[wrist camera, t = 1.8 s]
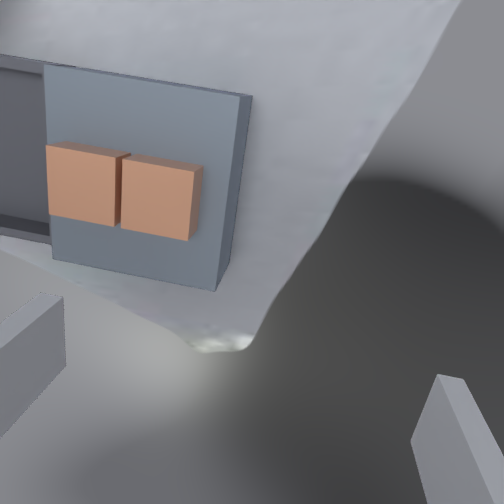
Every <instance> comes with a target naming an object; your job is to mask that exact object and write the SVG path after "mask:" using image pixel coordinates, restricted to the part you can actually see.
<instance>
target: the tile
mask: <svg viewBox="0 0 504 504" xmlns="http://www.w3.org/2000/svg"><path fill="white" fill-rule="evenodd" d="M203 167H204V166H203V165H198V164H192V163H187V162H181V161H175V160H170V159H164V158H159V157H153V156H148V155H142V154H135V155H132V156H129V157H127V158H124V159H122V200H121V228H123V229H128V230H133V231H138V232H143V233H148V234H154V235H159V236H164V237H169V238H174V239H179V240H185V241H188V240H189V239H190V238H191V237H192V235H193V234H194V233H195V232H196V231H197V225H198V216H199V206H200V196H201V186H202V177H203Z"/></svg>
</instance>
